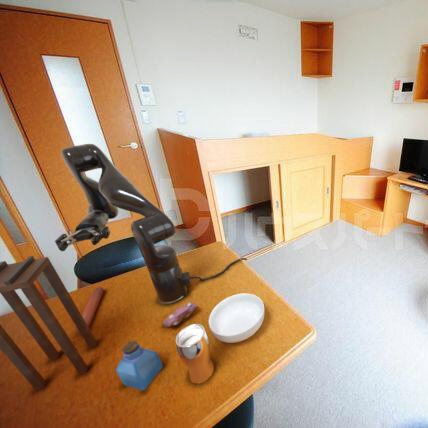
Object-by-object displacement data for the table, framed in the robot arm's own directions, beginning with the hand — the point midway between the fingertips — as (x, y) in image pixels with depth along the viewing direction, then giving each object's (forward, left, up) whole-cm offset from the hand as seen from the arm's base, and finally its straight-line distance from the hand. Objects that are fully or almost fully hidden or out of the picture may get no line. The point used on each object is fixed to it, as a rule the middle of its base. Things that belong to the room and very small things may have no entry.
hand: (77, 245), depth 83 cm
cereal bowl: (-45, +41, -21) cm, 64 cm away
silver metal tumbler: (-33, +51, -21) cm, 64 cm away
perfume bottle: (-19, +45, -21) cm, 53 cm away
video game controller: (-28, +29, -21) cm, 45 cm away
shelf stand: (0, +32, -21) cm, 38 cm away
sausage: (0, +11, -21) cm, 23 cm away
